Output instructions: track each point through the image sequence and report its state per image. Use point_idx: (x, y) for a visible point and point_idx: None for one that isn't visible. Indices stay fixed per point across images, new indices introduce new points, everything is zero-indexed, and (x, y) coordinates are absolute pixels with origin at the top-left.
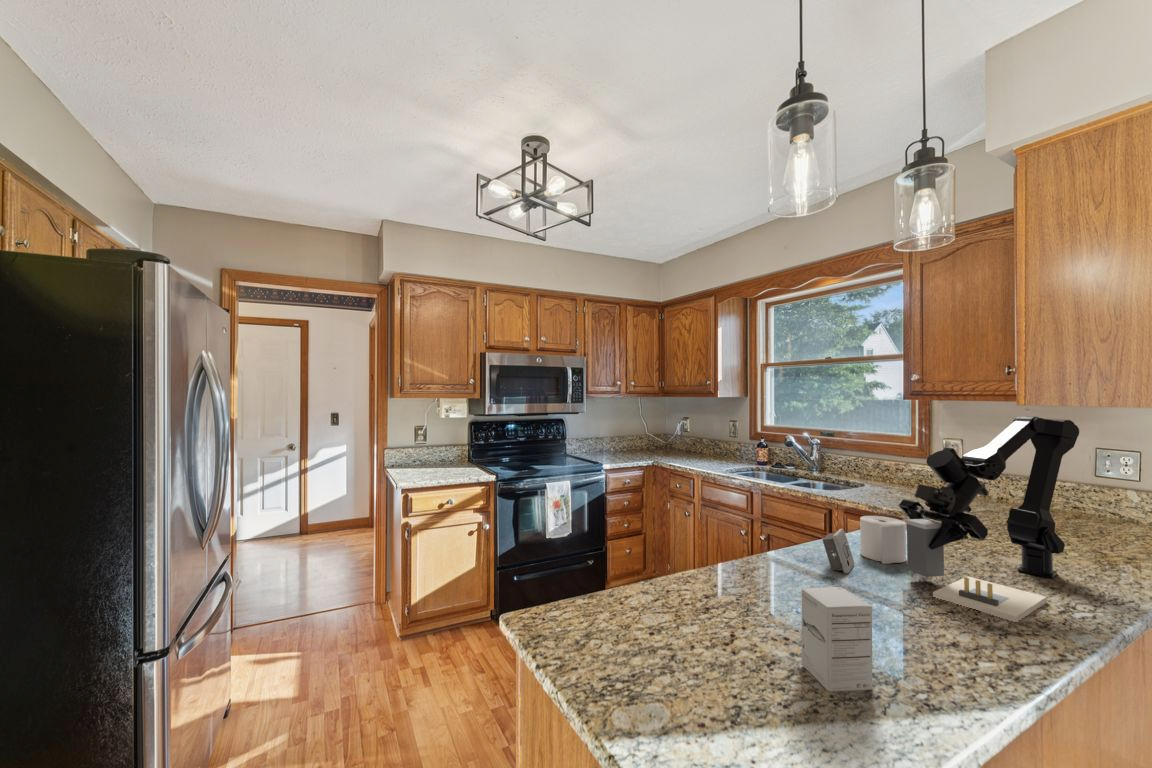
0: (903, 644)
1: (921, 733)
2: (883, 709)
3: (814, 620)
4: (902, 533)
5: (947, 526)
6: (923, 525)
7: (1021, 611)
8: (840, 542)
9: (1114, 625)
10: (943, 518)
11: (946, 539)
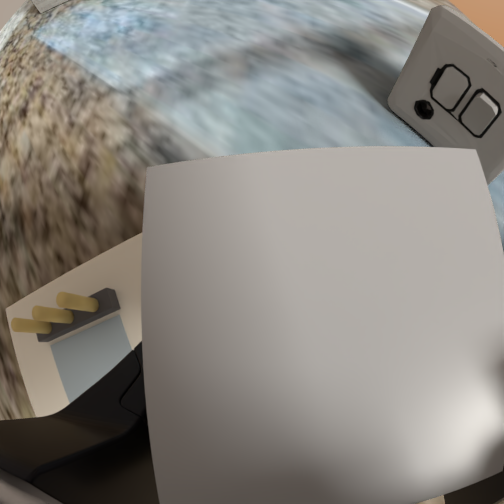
0: (58, 51)
1: (6, 32)
2: (27, 17)
3: None
4: None
5: (34, 418)
6: (184, 171)
7: (19, 358)
8: (443, 39)
9: None
10: (5, 460)
11: None
